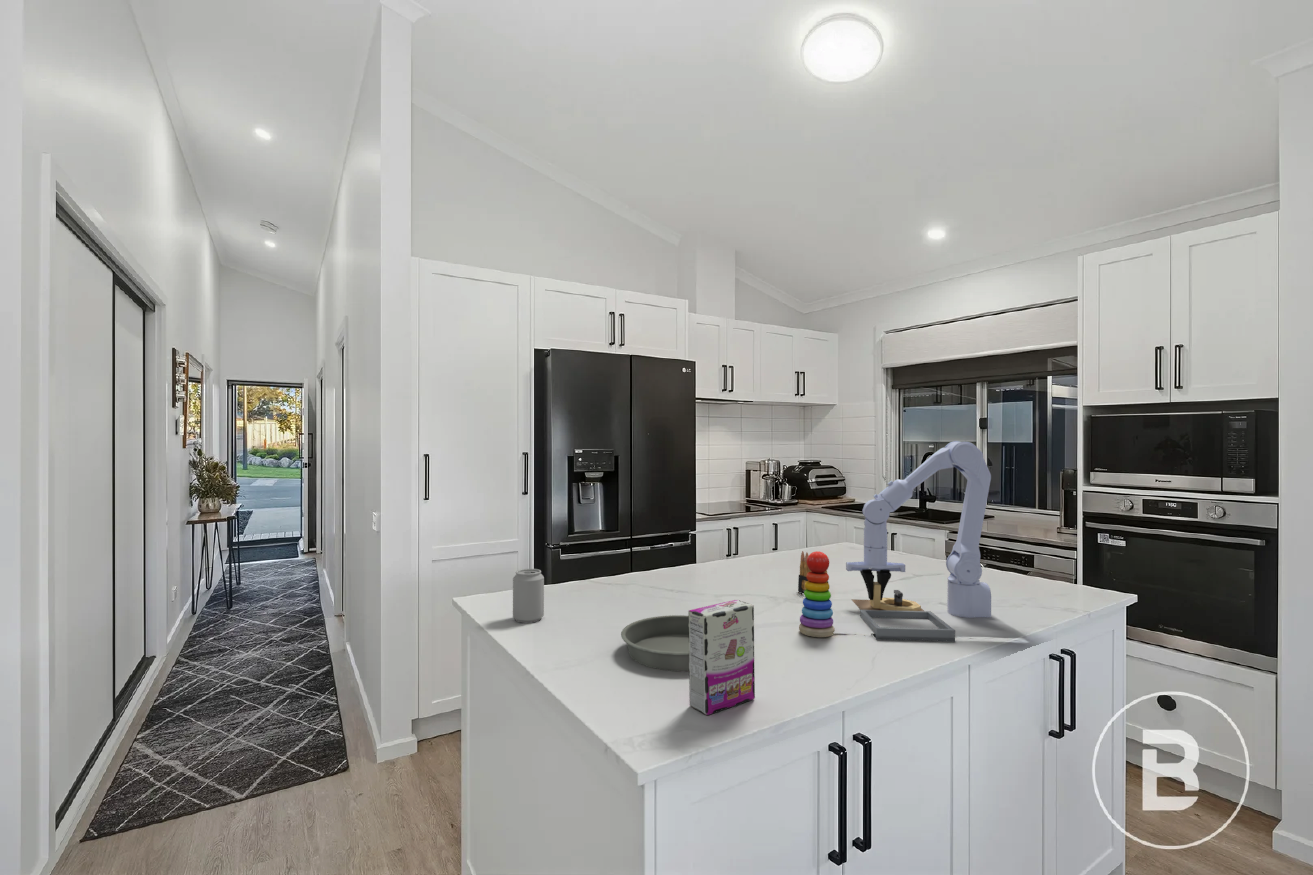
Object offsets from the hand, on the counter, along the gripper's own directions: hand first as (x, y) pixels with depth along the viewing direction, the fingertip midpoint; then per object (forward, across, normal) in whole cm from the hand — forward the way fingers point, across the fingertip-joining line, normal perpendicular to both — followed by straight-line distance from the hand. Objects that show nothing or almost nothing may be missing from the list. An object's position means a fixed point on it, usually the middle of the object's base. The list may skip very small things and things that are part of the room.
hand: (875, 599), depth 162 cm
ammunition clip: (+3, +13, -15) cm, 20 cm away
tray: (+3, -3, +15) cm, 16 cm away
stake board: (+3, -4, -1) cm, 5 cm away
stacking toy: (+3, +18, +19) cm, 27 cm away
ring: (+2, -6, 0) cm, 6 cm away
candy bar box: (+3, +41, +58) cm, 71 cm away
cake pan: (+4, +49, +34) cm, 60 cm away
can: (+3, +87, +14) cm, 88 cm away
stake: (+2, -6, 0) cm, 6 cm away
